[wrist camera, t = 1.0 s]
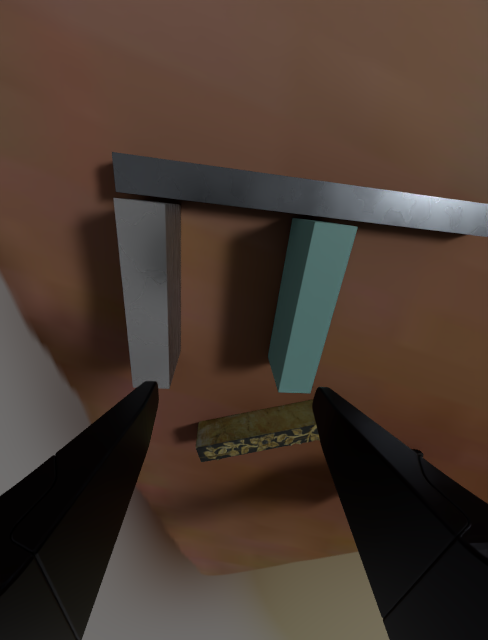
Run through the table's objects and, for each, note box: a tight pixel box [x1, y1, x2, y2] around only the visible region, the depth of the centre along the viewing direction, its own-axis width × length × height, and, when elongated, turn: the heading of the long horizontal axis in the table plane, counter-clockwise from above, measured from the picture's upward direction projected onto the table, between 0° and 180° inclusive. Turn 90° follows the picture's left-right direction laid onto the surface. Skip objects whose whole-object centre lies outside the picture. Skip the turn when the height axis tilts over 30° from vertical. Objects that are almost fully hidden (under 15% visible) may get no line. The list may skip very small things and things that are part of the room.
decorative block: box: [196, 400, 320, 462], centre depth 25 cm, size 15×2×4 cm, turn 100°
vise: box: [112, 152, 488, 389], centre depth 18 cm, size 14×26×5 cm, turn 84°
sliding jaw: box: [268, 218, 358, 393], centre depth 18 cm, size 12×2×5 cm, turn 174°
